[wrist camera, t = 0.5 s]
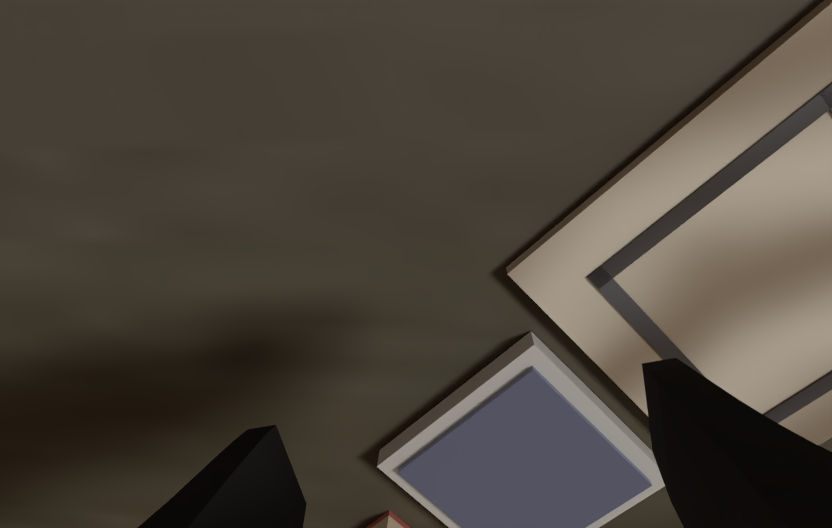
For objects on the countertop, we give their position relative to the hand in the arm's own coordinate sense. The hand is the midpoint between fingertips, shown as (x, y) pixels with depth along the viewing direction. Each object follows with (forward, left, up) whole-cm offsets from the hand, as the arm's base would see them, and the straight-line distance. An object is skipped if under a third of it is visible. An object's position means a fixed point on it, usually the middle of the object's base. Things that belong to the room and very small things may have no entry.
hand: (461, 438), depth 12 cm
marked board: (-8, -7, -10) cm, 15 cm away
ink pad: (-8, +4, -10) cm, 14 cm away
